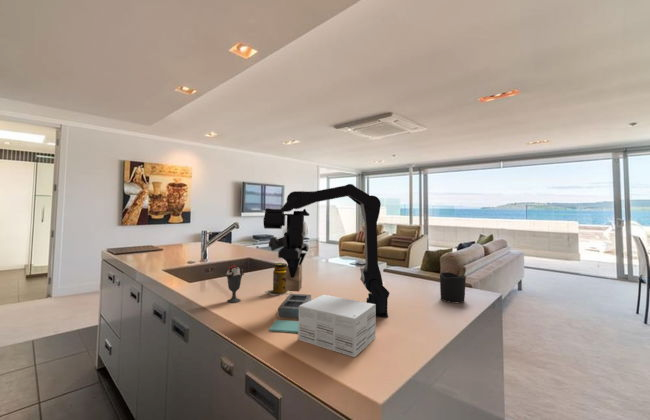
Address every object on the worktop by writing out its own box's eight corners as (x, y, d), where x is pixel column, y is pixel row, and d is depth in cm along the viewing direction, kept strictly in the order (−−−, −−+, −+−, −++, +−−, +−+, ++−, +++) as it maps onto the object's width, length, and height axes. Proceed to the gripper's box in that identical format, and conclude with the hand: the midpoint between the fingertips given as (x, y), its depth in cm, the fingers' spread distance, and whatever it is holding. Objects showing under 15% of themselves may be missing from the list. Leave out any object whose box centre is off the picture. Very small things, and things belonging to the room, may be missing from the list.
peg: (301, 288, 94) (302, 264, 94) (298, 291, 90) (299, 267, 90) (289, 287, 95) (289, 264, 95) (285, 290, 90) (286, 266, 90)
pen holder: (461, 297, 114) (461, 273, 114) (468, 304, 105) (469, 278, 105) (437, 295, 116) (437, 271, 116) (442, 302, 107) (443, 276, 107)
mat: (305, 323, 84) (305, 321, 84) (300, 333, 77) (300, 331, 77) (276, 321, 85) (276, 319, 85) (268, 330, 78) (269, 329, 78)
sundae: (220, 302, 102) (221, 261, 102) (232, 297, 108) (233, 258, 108) (234, 304, 99) (235, 263, 99) (246, 299, 105) (247, 260, 106)
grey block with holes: (311, 302, 103) (311, 294, 103) (302, 318, 87) (302, 309, 87) (290, 301, 104) (290, 293, 104) (278, 317, 88) (278, 307, 88)
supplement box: (376, 338, 75) (376, 303, 75) (355, 359, 64) (355, 318, 64) (323, 324, 84) (324, 293, 84) (297, 340, 73) (298, 304, 73)
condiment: (291, 293, 115) (291, 264, 115) (272, 296, 111) (272, 266, 111) (283, 289, 121) (284, 261, 121) (265, 291, 117) (265, 263, 117)
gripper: (279, 227, 103) (278, 269, 103) (262, 230, 84) (261, 281, 84) (309, 228, 101) (308, 270, 101) (298, 231, 83) (297, 283, 83)
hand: (294, 275), depth 92 cm, fingers closed on peg, 4 cm apart
